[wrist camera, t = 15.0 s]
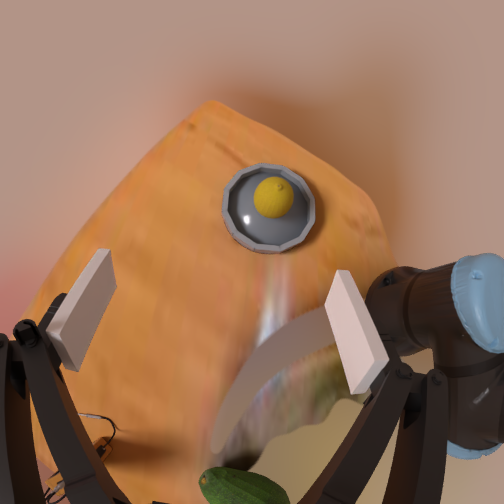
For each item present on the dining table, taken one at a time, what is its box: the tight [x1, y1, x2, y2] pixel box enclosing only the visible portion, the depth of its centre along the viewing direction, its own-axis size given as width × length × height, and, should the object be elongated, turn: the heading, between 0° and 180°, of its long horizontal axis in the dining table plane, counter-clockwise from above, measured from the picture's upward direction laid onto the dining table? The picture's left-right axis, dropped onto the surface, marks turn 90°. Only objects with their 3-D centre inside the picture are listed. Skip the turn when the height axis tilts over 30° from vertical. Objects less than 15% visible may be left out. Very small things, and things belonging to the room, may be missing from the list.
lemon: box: [254, 177, 294, 219], centre depth 40 cm, size 6×6×8 cm
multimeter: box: [44, 414, 116, 504], centre depth 23 cm, size 15×10×20 cm
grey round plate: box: [222, 163, 315, 254], centre depth 44 cm, size 14×14×2 cm
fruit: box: [199, 467, 290, 504], centre depth 30 cm, size 15×10×10 cm, turn 44°
